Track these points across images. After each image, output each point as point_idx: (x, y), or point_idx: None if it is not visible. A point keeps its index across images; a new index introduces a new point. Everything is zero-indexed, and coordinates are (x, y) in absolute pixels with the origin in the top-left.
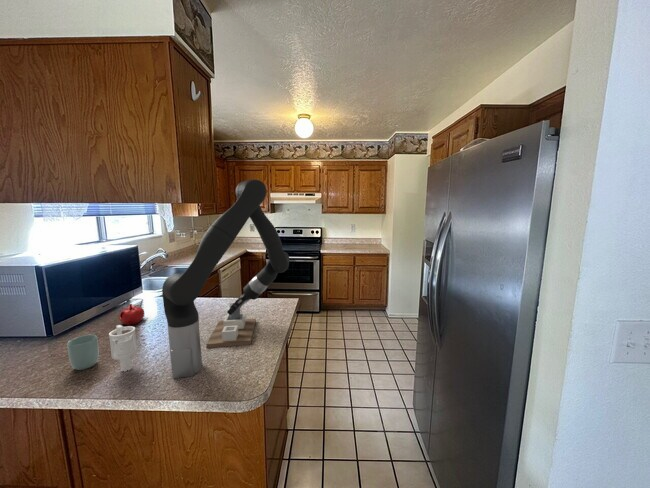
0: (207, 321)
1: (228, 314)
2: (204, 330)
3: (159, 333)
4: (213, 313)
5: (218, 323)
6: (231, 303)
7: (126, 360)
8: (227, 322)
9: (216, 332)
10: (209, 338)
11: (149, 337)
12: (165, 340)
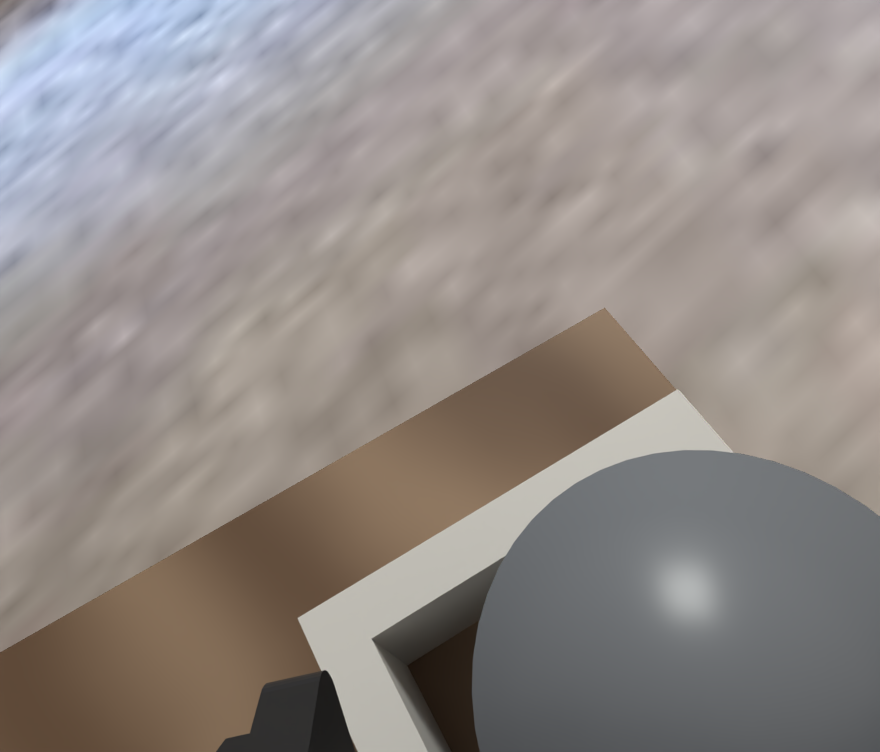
0: (589, 147)
1: (667, 436)
2: (352, 309)
3: (171, 8)
4: (823, 34)
5: (528, 364)
6: (728, 456)
7: None
8: (345, 709)
9: (229, 589)
10: (12, 646)
11: (86, 9)
12: (44, 152)
